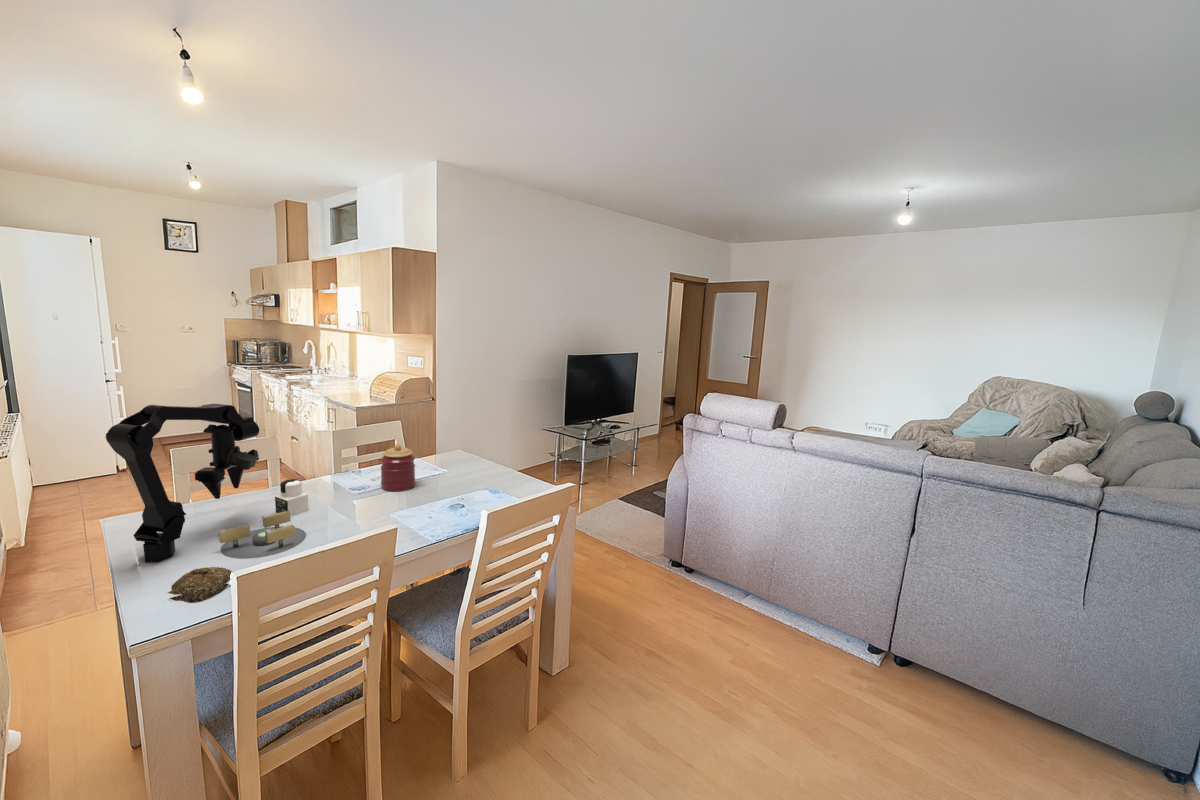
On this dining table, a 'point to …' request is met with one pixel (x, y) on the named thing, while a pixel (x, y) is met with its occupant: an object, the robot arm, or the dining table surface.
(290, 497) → the medicine bottle
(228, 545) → the levelling base
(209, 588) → the brown speckled lumpy part
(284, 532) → the knob near
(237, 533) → the knob left
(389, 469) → the canister
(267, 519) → the wooden plank block
